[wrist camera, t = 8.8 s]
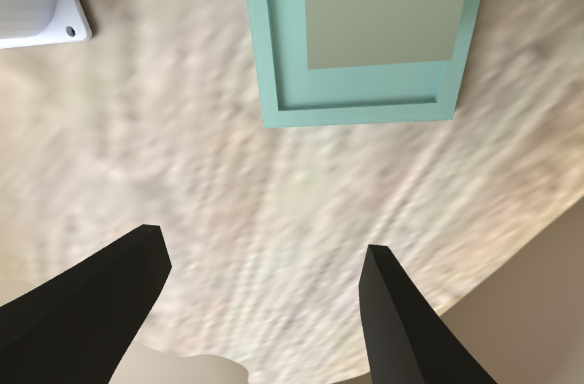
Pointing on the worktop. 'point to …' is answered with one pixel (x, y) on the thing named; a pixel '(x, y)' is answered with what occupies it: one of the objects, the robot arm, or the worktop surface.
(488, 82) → the worktop surface
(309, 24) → the tea tin
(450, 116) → the tray
